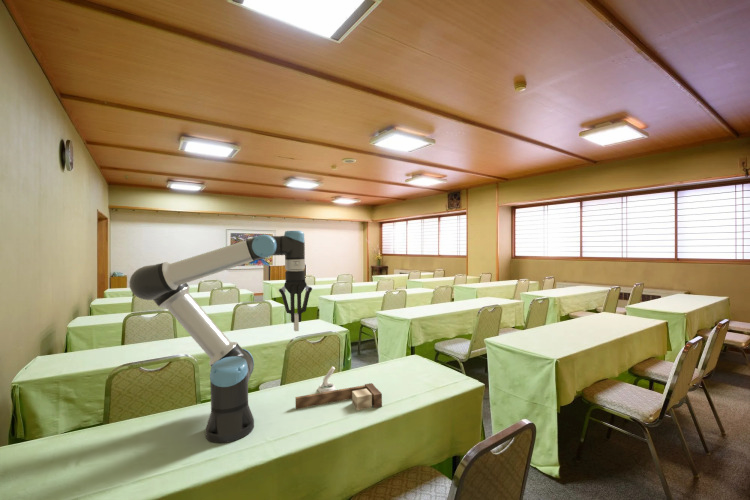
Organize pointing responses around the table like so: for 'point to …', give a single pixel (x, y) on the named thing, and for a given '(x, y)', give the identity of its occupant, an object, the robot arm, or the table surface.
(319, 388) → the hook
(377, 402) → the guide rail
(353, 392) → the beige wooden block
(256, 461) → the table surface
